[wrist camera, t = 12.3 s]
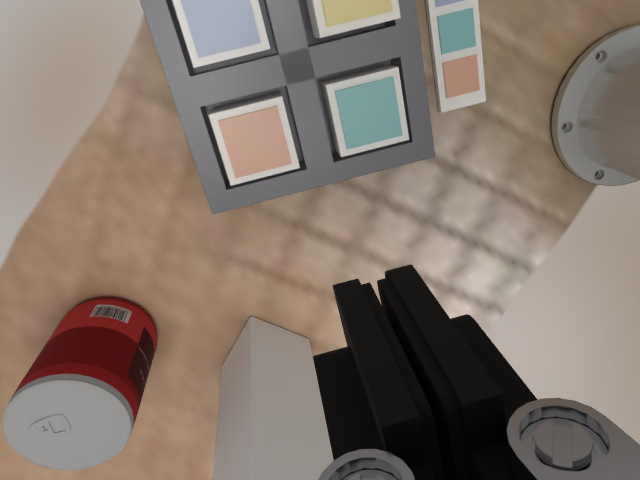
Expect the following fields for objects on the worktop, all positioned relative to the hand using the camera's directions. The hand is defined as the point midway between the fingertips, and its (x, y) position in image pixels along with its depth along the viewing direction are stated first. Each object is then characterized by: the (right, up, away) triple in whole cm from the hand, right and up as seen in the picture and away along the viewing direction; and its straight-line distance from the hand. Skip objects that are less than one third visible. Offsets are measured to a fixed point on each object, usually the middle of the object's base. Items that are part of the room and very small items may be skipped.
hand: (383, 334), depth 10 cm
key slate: (-8, +17, +23) cm, 29 cm away
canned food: (-19, -6, +32) cm, 38 cm away
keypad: (-3, +15, +25) cm, 29 cm away
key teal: (+2, +12, +26) cm, 29 cm away
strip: (+8, +17, +26) cm, 32 cm away
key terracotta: (-6, +10, +26) cm, 28 cm away
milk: (-6, -8, +35) cm, 36 cm away
